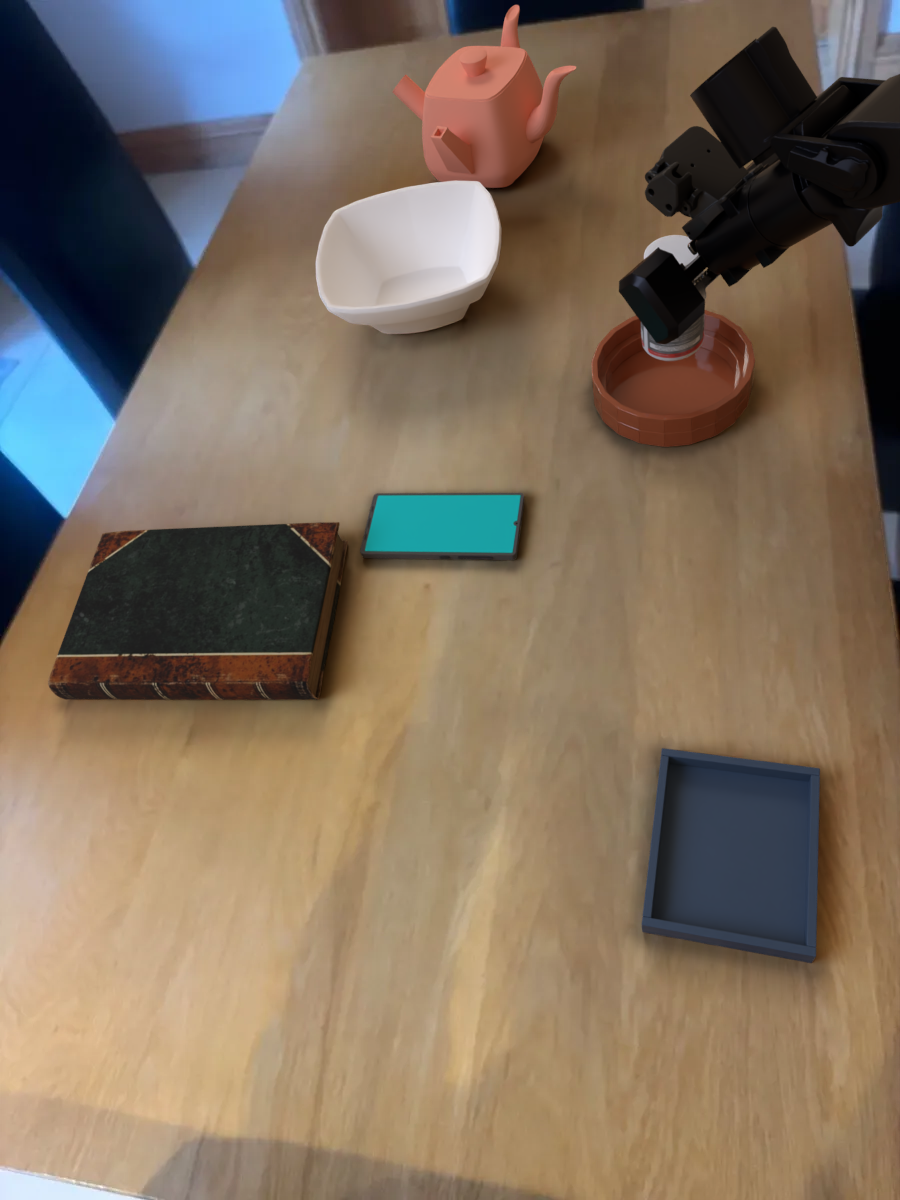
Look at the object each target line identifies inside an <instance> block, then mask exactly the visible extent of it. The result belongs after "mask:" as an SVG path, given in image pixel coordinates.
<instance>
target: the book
mask: <svg viewBox="0 0 900 1200" xmlns="http://www.w3.org/2000/svg"><path fill="white" fill-rule="evenodd" d="M339 530H340V522H339V521H330V522H329V521H328V522H327V521H326V522H325V521H322V522H298V523H297V522H295V523H294V522H293V523H274V524H273V523H272V524H270V523H269V524H250V525H249V524H247V525H228V526H227V525H226V526H224V525H223V526H203V527H201V526H200V527H180V528H179V527H178V528H156V529H135V530H134V529H133V530H131V529H130V530H119V531H117V530H116V531H109V532H103V533H101V535H100V538H99V540H98V544H97V545H96V546H97V547H96V549H95V552H94V555H93V556H92V560H91V561H90V562H91V563H90V565H89V568H88V571H87V573H86V576H85V579H84V582H83V584H82V586H81V590H80V592H79V595H78V598H77V600H76V603H75V606H74V608H73V611H72V614H71V617H70V621H68V625H67V628H66V631H65V633H64V637H63V639H62V641H61V643H60V647H59V650H58V653H57V655H56V657H55V661H54V662H53V663H54V664H53V666H52V669H51V671H50V674H49V677H48V680H47V685H48V687H49V690H50V691H51V692H52V693H53V694H54V695H55V696H56V697H59V698H60V699H63V700H68V701H69V700H70V701H71V700H78V701H79V700H102V701H103V700H109V701H111V700H122V701H123V700H124V701H125V700H130V701H131V700H132V701H133V700H134V701H135V700H136V701H137V700H139V701H140V700H141V701H142V700H144V701H146V700H147V701H148V700H149V701H150V700H151V701H153V700H154V701H162V700H165V701H195V700H196V701H208V700H209V701H246V700H247V701H281V700H282V701H283V700H284V701H299V700H300V701H304V700H305V701H308V700H309V701H310V700H311V701H312V700H314V701H316V700H319V699H320V697H321V696H320V695H321V691H322V685H323V679H324V673H325V668H326V663H327V657H328V653H329V647H330V642H331V638H332V632H333V629H334V623H335V619H336V612H337V607H338V603H339V602H338V601H339V596H340V590H341V584H342V579H343V573H344V567H345V562H346V557H347V550H348V545H349V541H348V540H346V539H345V540H343V539H342V538H341V536H340V534H339Z"/></svg>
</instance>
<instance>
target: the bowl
mask: <svg viewBox="0 0 900 1200" xmlns="http://www.w3.org/2000/svg"><path fill="white" fill-rule="evenodd" d="M501 249H502V224H501V220H500V216H499V211H498V208H497V206H496V203H495V201H494V198H493V196H492V194H491V193H490V191H488V190H487V189H486V187H484V186H483V185H482V184H481V183H480V182H478V181H446V182H441V181H438V182H437V181H436V182H430V183H423V184H417V185H411V186H405V187H401V188H398V189H397V188H396V189H393V190H390V191H389V190H388V191H385V192H381V193H377V194H374V195H370V196H368V197H365V198H361V199H358V200H356V201H353V202H351V203H348V204H347V205H344V206H342V207H340V208H338V209H336V210H334V211H333V212H332V214H331V216H329V218H328V220H327V222H326V224H324V227H323V230H322V232H321V235H320V239H319V242H318V248H317V253H316V257H315V279H316V280H315V281H316V285H317V290H318V295H319V298H320V300H321V301H322V303H323V305H324V306H325V308H326V310H327V311H328V312H329V313H330V314H332V315H334V316H336V317H338V318H340V319H342V320H343V321H345V322H347V323H349V324H352V325H361V326H363V325H364V326H370V327H372V328H373V329H375V330H377V331H379V332H380V333H382V334H385V335H386V334H387V335H401V334H402V335H403V334H407V335H408V334H415V333H423V332H428V331H432V330H436V329H439V328H442V327H445V326H448V325H451V324H454V323H457V322H458V321H461V320H463V319H464V317H465V316H466V313H467V311H468V309H469V308H470V305H471V304H473V303H476V302H478V301H479V300H481V298H482V297H483V296H484V294H485V292H486V290H487V288H488V286H489V284H490V282H491V280H492V278H493V275H494V274H495V272H496V270H497V267H498V265H499V262H500V255H501V251H502V250H501Z"/></svg>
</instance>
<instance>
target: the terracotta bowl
mask: <svg viewBox="0 0 900 1200" xmlns="http://www.w3.org/2000/svg"><path fill="white" fill-rule="evenodd" d="M590 365H591V381H592V392H593V393H592V394H593V403H594V404H593V405H594V407H595V409H596V411H597V412H598V413H597V414H599V416H600V418H601V420H602V422H603V423H604V424H606V426H608V427H609V428H610V429H611V430H613V431H614V432H615V433H616V434H617V435H619V436H621V437H623V438H626V439H629V440H631V441H633V442H635V443H638V444H641V445H650V446H655V447H656V446H657V447H663V448H668V447H679V446H690V445H694V444H696V443H698V442H702V441H705V440H708V439H711V438H714V437H716V436H717V435H719V434H721V433H723V431H726V429H728V428H730V427H732V425H734V424H735V423H736V422H737V421H738V419H739V418H740V417H741V415H742V414H744V412H745V410H746V409H747V408H748V406H749V402H750V399H751V395H752V391H753V387H754V386H753V385H754V377H755V376H754V375H755V366H756V357H755V352H754V346H753V342H752V341H751V340H750V338H749V337H748V335H747V334H746V333H745V331H744V330H743V329H742V328H741V326H739V325H738V324H736V323H734V322H733V321H732V320H730V319H729V318H727V317H726V316H725V315H722V314H719V313H716V312H713V311H710V310H707V309H705V317H704V340H703V343H702V345H701V347H700V348H699V349H698V350H697V351H696V352H695V353H694V354H693V355H691V356H689V357H687V358H685V359H681V360H677V361H663V360H659V359H656V358H654V357H652V356H650V355H649V354H648V353H647V352H646V351H645V350H644V348H643V345H642V340H641V321H640V320H639V318H638V317H637V316H636V315H633V316H630V317H629V318H627V319H625V320H624V321H623V322H621V323H619V324H618V325H615V326H614V327H613V328H611V329H610V331H608V333H607V334H606V335H605V336H604V337H603V338H602V340H601V341H600V342H599V343H598V344H597V347H596V348H595V351H594V354H593V356H592V359H591V363H590Z"/></svg>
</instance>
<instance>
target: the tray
mask: <svg viewBox="0 0 900 1200" xmlns="http://www.w3.org/2000/svg"><path fill="white" fill-rule="evenodd" d="M820 788H821V768H820V767H814V766H813V767H812V766H805V765H798V764H789V763H781V762H773V761H768V760H767V761H765V760H759V759H750V758H742V757H736V756H735V757H734V756H727V755H719V754H711V753H702V752H695V751H689V750H688V751H687V750H679V749H671V748H664V747H662V748H661V752H660V760H659V768H658V778H657V787H656V796H655V804H654V813H653V821H652V832H651V839H650V847H649V857H648V864H647V865H648V866H647V873H646V874H647V875H646V883H645V890H644V891H645V892H644V901H643V909H642V920H641V931H642V933H645V934H652V935H655V936H661V937H667V938H671V939H672V938H673V939H676V940H684V941H689V942H693V943H699V944H705V945H710V946H715V947H720V948H725V949H726V948H727V949H732V950H737V951H741V952H742V951H743V952H747V953H752V954H753V953H754V954H759V955H765V956H771V957H776V958H780V959H786V960H791V961H797V962H803V963H808V964H813V962H814V961H815V960H816V957H817V941H818V940H817V937H818V933H817V932H818V894H819V893H818V887H819V883H818V882H819V844H820V842H819V841H820V837H819V836H820V798H821V797H820V794H821V793H820Z"/></svg>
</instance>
